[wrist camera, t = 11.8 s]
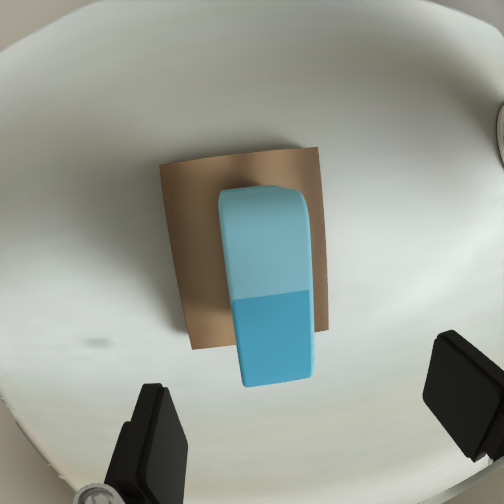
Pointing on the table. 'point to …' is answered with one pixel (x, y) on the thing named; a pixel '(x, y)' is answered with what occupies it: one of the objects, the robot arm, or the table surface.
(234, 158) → the base plate
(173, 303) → the table surface
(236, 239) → the data package
